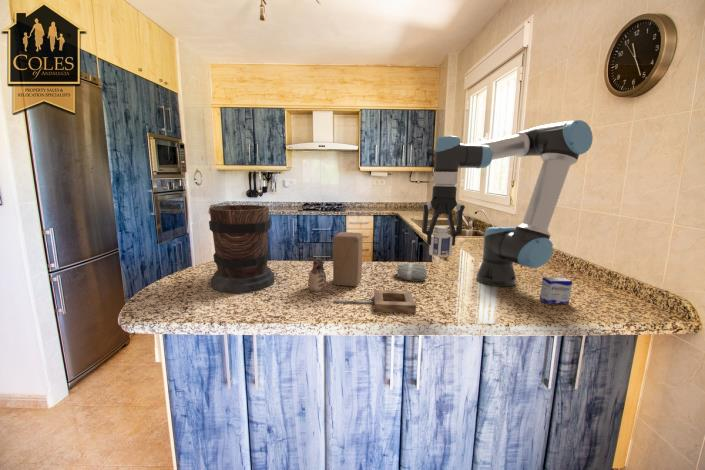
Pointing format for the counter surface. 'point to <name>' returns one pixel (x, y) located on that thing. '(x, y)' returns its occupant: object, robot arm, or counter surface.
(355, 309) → the counter surface
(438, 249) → the pill bottle
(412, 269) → the decorative stone
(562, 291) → the box
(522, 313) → the counter surface
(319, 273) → the figurine
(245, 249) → the wooden barrel
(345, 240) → the wooden block
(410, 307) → the brown square frame
